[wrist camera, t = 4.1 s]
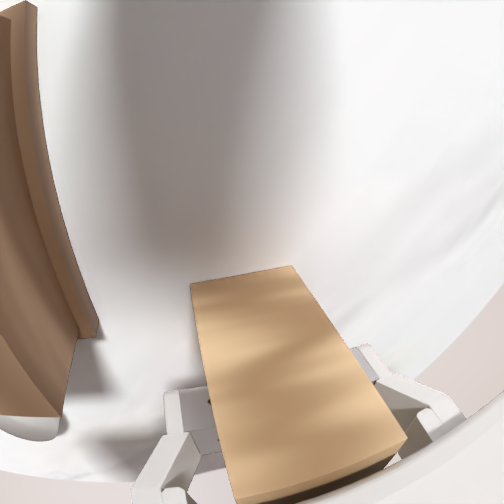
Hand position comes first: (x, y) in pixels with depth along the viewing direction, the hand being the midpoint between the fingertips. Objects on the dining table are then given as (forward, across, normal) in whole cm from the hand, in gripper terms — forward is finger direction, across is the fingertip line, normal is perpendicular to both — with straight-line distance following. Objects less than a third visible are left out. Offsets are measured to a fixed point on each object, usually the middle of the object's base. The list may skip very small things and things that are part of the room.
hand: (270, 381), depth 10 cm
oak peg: (+4, 0, 0) cm, 4 cm away
